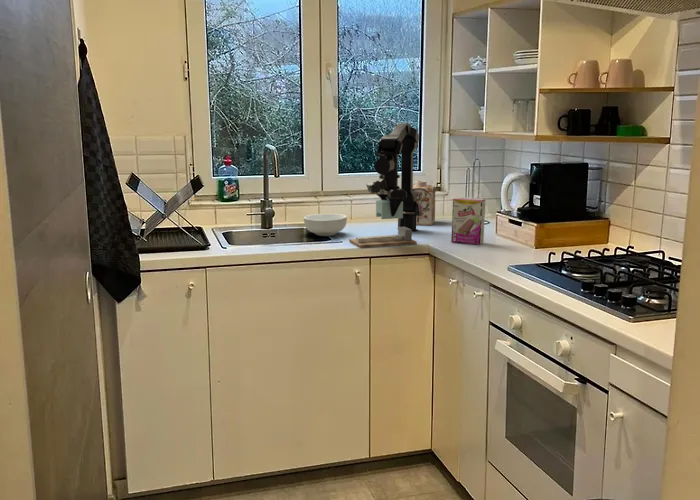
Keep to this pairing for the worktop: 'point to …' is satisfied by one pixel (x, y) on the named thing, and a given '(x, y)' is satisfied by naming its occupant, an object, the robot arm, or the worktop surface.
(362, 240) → the metal rail
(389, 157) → the robot arm
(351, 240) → the mounting board
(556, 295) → the worktop surface
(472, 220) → the candy bar box
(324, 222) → the cereal bowl
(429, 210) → the decorative jar
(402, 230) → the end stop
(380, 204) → the block
